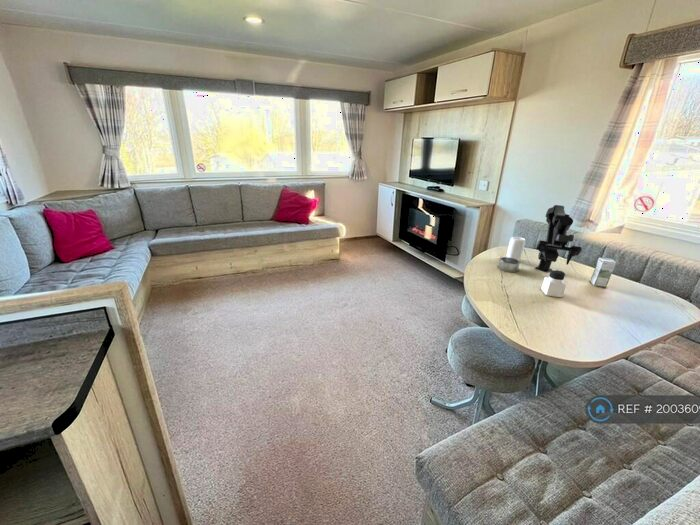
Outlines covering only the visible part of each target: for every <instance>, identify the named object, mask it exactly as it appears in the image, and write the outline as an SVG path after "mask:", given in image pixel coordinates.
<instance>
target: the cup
mask: <svg viewBox="0 0 700 525" xmlns="http://www.w3.org/2000/svg"><path fill="white" fill-rule="evenodd" d="M525 245H526V239H525V238H524V237H521V236H511V238H510V240H509V243H508V247H507V252H506V257H509V258H513V259H516V260H518V261H520V260H521V258H522V256H523V253H524V249H525Z"/></svg>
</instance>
